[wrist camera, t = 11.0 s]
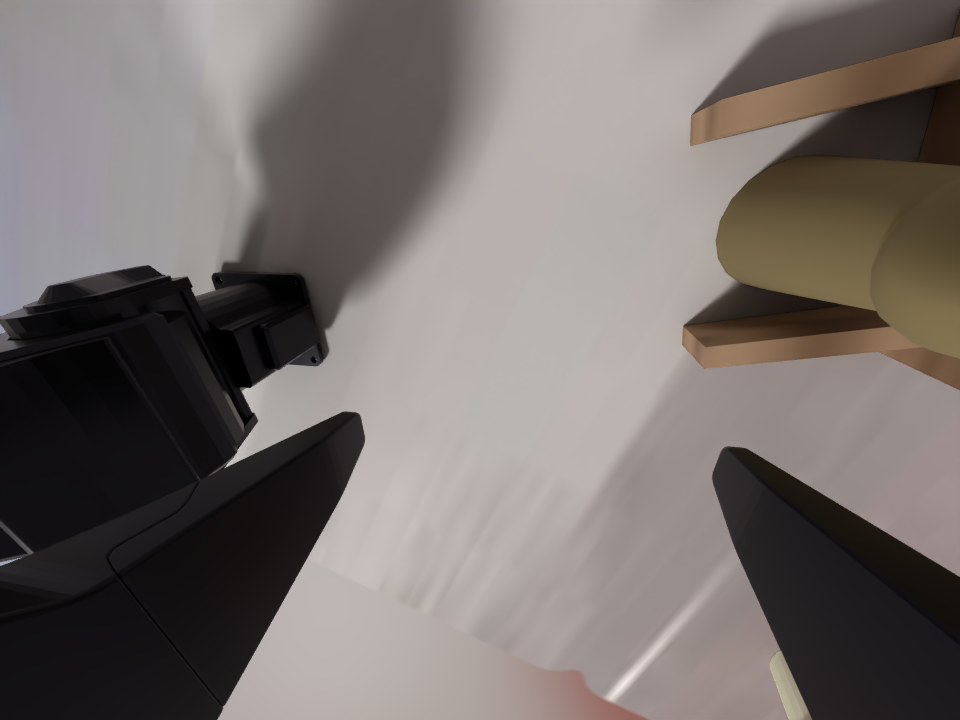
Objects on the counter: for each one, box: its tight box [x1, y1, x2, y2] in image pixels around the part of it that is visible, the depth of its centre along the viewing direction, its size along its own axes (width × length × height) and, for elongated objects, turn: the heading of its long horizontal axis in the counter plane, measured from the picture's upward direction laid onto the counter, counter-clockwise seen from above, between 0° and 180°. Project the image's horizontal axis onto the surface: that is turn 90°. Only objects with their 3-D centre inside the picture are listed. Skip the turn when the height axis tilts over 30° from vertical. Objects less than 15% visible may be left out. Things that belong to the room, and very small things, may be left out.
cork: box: [716, 155, 960, 359], centre depth 12 cm, size 6×6×11 cm
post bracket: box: [682, 14, 960, 390], centre depth 12 cm, size 11×14×9 cm
